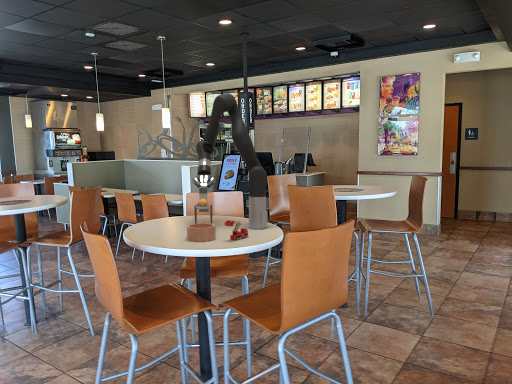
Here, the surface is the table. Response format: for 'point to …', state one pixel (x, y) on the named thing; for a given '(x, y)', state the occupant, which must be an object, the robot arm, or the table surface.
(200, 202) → the ball
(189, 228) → the terracotta shallow bowl
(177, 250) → the table surface
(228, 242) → the table surface
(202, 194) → the grey angular piece
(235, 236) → the toy fire truck
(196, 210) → the catapult stand
